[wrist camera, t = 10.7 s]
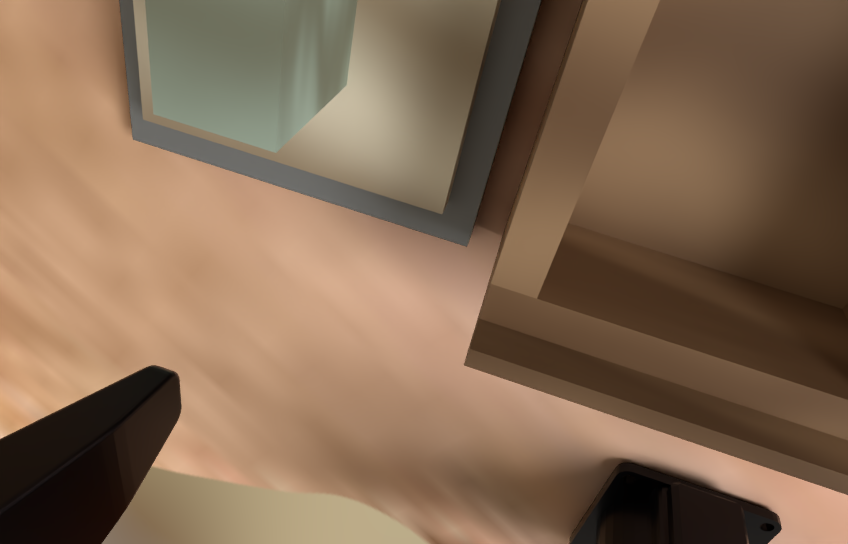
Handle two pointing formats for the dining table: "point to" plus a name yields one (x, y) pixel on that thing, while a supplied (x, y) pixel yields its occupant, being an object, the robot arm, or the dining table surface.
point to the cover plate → (384, 101)
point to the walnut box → (689, 230)
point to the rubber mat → (451, 225)
